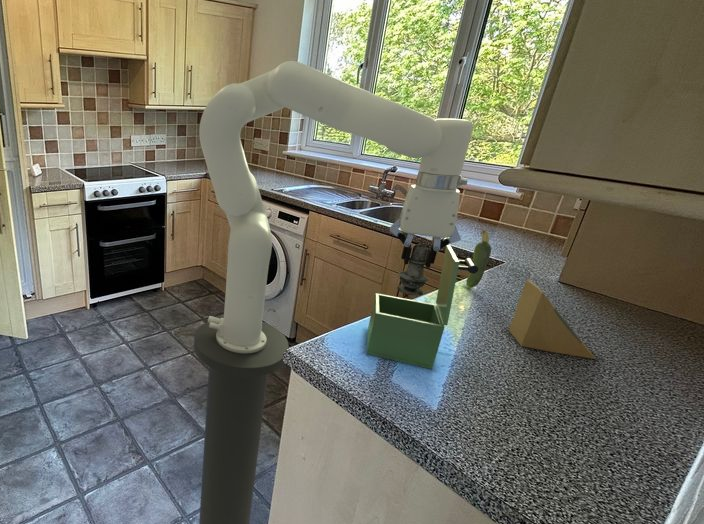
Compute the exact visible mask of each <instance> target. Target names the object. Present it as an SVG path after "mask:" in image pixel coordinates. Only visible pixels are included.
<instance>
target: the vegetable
mask: <svg viewBox="0 0 704 524" xmlns="http://www.w3.org/2000/svg"><path fill="white" fill-rule="evenodd" d="M480 235H481V241H480V242H477V243H476V244H475V247H474V249H473V256H472V257H473V258H472V260H473V261H474V262H475V264H476V266H477V267H478V272H477V273H475V274H471V273H469V272H468V276H467V278H466V280H465V281H466V283H465V287H467V289H469V290H470V289H473V288H475V287H476V286H478V285H479V283H480V282H481V281H482V278H483V276H484V274H485V272H486V269H487V265H488V264H489V260H490V257H491V255H492V254H491V253H492V246H491V244H490V235H489V232H488V231H487V230H485V229H483V230H481V231H480Z"/></svg>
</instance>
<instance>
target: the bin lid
mask: <svg viewBox="0 0 704 524" xmlns="http://www.w3.org/2000/svg"><path fill="white" fill-rule="evenodd" d="M443 256H444V257H443V261H442V268H441V272H440V277H439V284H438V288H437V289H438V290H437V294H436V299H435V304H436V305H437V307H438V310H439V314H440V317H441V320H442V323H443V325H444V326H448V324H449V320H450V319H449V318H450V314H451V309H452V303H453V298H454V292H455V288H456V283H457V277H458V273H459V271H468V274H469V273H471V274H475V273H477V272H478V267H477V266H476V264H475V262H474V261H473V258H470V257H467V258H465V259H459V258H458V257H457V254H456V253H455V251H454V250H453V248H452V246H451V245H450V244H448V245H446V246H445V250H444V255H443Z"/></svg>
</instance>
